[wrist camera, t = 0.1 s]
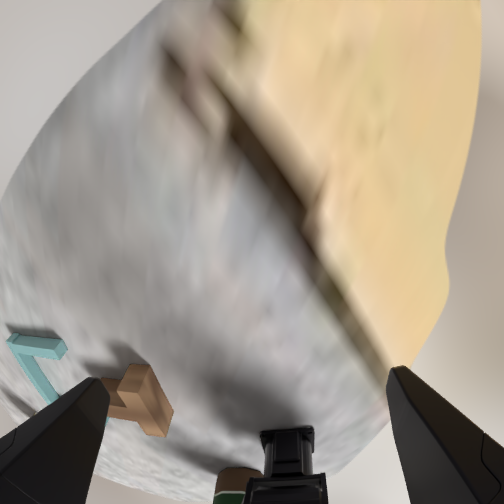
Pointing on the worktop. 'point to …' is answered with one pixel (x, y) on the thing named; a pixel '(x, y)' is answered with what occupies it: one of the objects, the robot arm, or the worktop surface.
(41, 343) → the jig
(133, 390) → the t block
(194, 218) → the worktop surface
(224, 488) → the beer bottle
